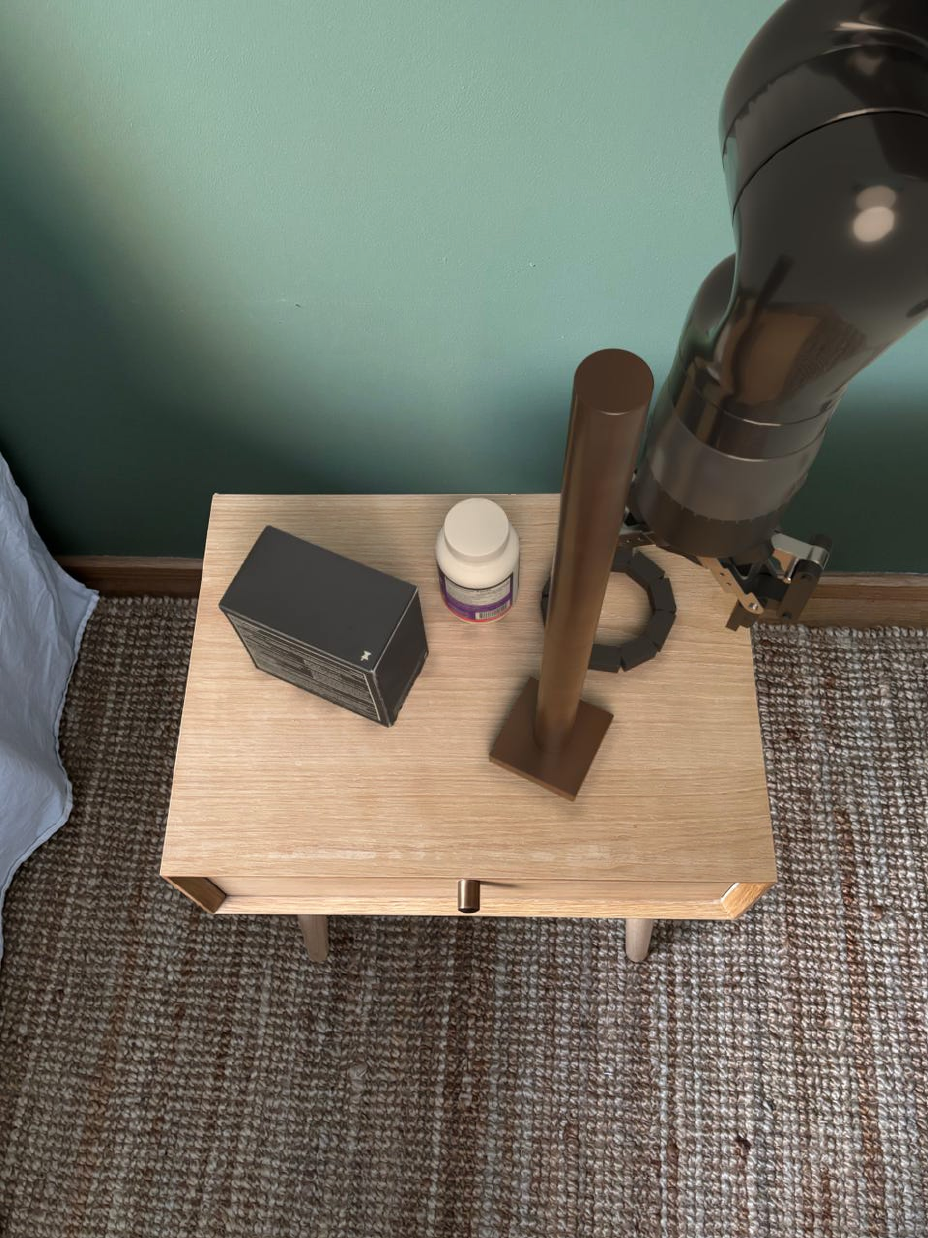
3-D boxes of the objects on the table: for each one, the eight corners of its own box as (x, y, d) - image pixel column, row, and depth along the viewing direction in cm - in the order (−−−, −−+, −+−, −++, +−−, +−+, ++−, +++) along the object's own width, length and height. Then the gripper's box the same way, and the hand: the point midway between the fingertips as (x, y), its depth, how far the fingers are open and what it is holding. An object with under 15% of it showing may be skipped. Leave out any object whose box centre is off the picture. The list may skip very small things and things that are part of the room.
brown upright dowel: (612, 721, 68) (745, 341, 31) (573, 802, 66) (668, 498, 29) (529, 682, 69) (565, 273, 32) (489, 761, 67) (478, 419, 30)
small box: (434, 647, 70) (424, 582, 60) (392, 731, 68) (374, 679, 58) (298, 588, 72) (266, 517, 62) (252, 669, 70) (212, 608, 60)
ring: (692, 583, 71) (695, 574, 70) (639, 695, 68) (642, 688, 67) (575, 532, 73) (577, 523, 72) (519, 640, 70) (520, 632, 69)
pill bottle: (456, 546, 73) (451, 475, 64) (529, 569, 72) (533, 501, 63) (428, 612, 71) (418, 549, 62) (502, 637, 70) (503, 577, 61)
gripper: (900, 443, 48) (802, 585, 63) (620, 331, 51) (589, 493, 66) (847, 573, 46) (757, 689, 61) (555, 449, 48) (538, 590, 63)
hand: (670, 587), depth 63 cm, fingers open, 8 cm apart
